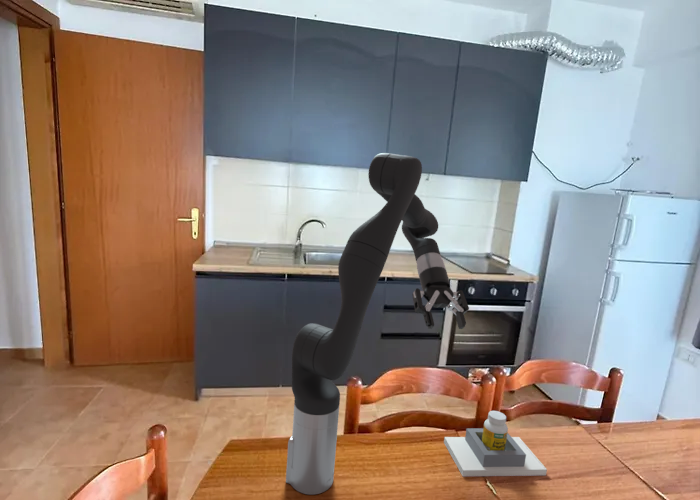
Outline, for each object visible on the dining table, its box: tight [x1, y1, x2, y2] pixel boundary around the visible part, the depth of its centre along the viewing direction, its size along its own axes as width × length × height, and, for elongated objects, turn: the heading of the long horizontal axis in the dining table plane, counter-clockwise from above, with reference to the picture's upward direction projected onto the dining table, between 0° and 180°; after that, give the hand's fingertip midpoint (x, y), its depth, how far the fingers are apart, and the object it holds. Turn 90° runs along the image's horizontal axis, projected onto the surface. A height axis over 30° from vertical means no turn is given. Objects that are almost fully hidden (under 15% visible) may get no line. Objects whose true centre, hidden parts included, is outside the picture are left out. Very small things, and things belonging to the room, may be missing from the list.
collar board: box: [443, 427, 548, 477], centre depth 96 cm, size 20×12×4 cm, turn 97°
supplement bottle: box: [482, 410, 509, 451], centre depth 96 cm, size 5×5×10 cm
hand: (447, 327), depth 101 cm, fingers open, 8 cm apart
